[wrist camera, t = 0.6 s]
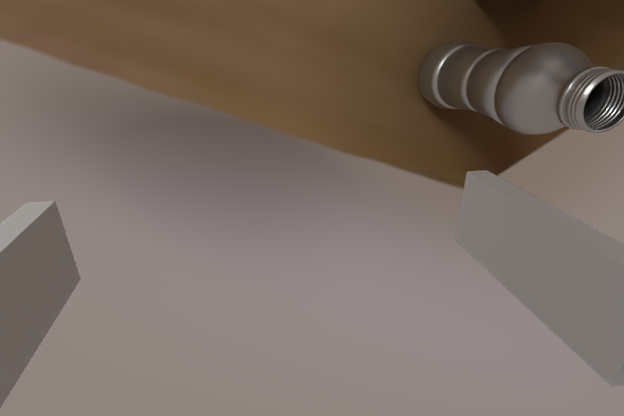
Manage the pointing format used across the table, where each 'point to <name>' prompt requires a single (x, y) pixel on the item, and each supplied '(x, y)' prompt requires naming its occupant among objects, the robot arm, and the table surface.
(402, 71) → the table surface
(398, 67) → the table surface
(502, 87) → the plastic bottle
